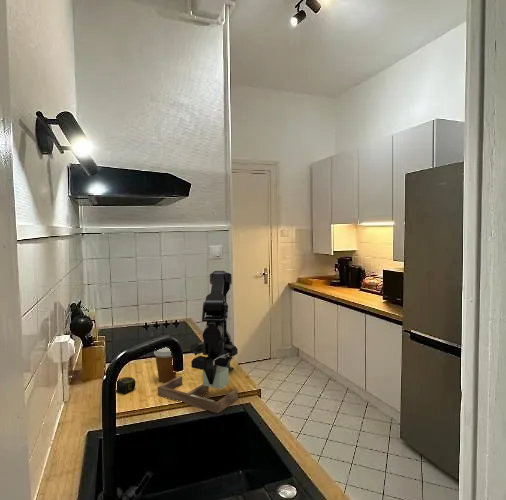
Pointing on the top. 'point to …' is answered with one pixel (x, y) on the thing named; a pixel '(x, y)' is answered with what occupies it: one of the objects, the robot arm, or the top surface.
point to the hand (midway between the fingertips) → (215, 381)
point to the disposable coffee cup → (164, 365)
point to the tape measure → (126, 384)
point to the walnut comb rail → (196, 396)
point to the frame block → (218, 378)
